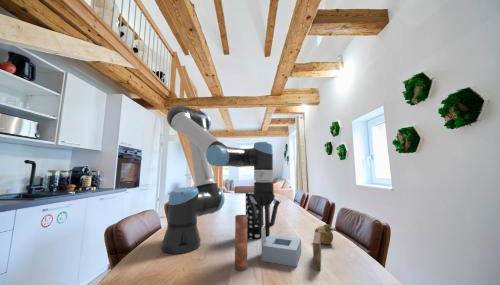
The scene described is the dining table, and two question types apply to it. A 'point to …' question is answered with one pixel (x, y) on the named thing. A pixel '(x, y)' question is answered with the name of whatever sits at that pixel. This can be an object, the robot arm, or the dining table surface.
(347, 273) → the dining table surface
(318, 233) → the walnut wall
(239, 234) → the dowel
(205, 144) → the robot arm
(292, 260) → the socket block
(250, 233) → the white-spotted black cylinder
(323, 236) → the onion
